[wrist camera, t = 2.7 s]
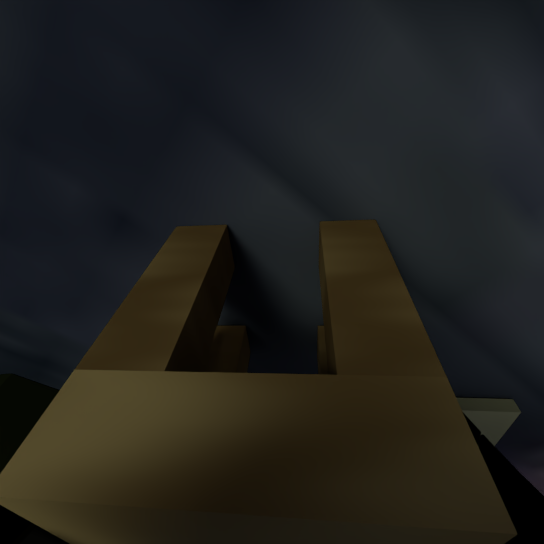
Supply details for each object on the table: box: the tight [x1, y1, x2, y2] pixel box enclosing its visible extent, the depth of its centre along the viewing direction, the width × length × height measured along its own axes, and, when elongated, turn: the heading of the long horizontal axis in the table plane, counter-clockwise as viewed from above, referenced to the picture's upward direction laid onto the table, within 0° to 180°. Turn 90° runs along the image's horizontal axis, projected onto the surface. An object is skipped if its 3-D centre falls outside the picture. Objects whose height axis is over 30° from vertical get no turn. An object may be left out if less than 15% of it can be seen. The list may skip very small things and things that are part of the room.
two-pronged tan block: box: [0, 220, 517, 544], centre depth 8 cm, size 6×6×7 cm
